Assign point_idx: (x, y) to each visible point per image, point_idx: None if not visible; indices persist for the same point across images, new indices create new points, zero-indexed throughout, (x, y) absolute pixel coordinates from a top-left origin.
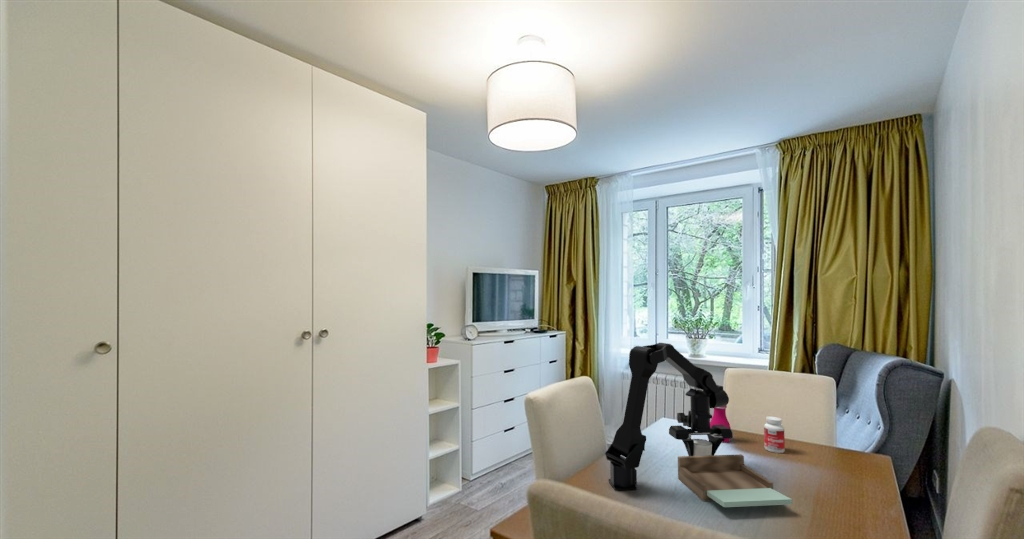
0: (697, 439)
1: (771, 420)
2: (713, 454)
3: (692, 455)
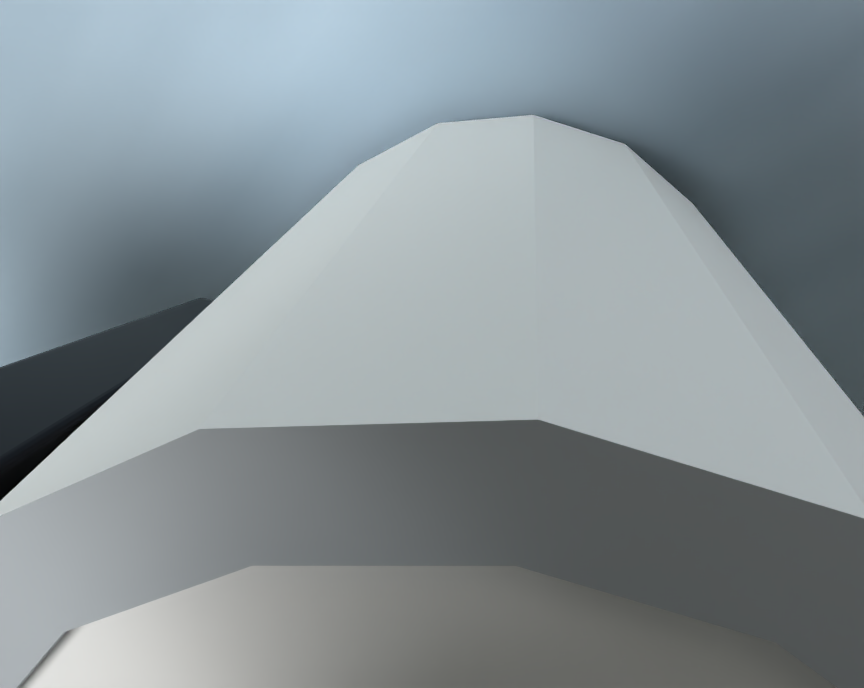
0: (664, 599)
1: None
2: None
3: None
